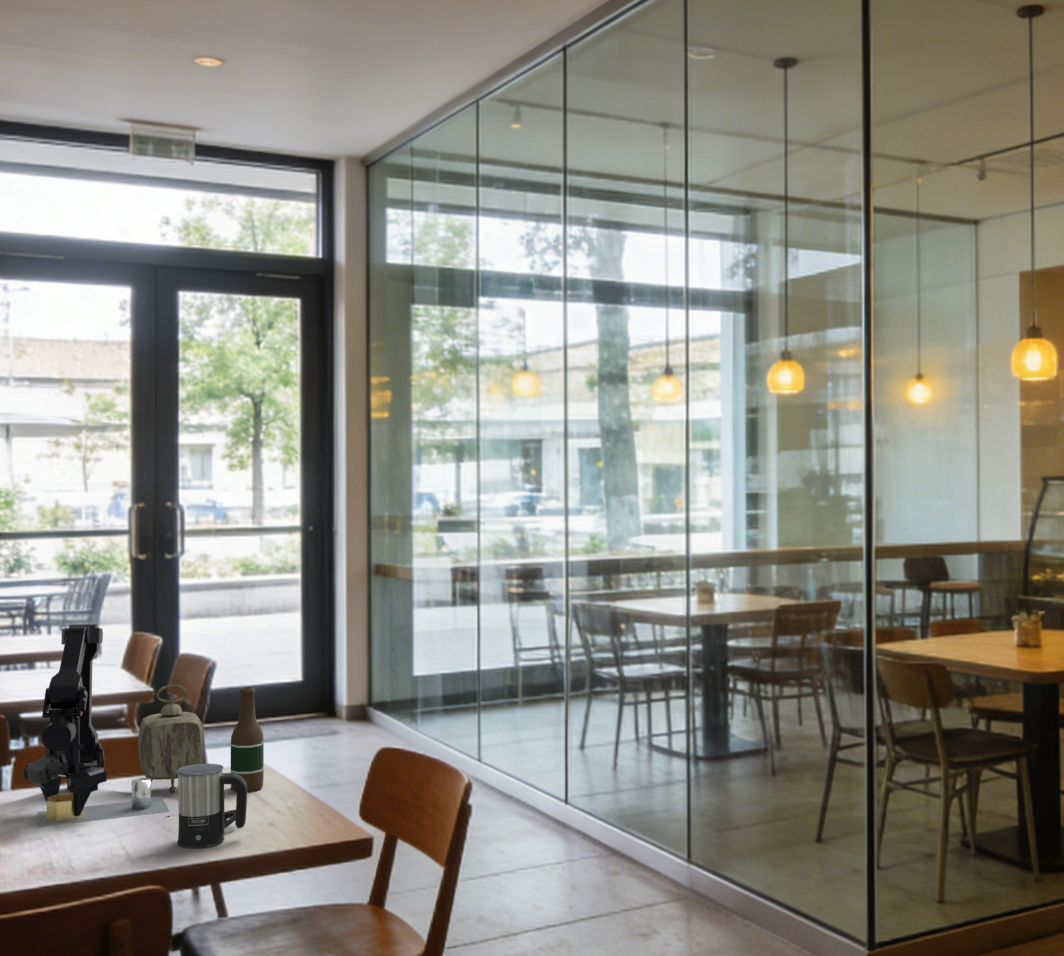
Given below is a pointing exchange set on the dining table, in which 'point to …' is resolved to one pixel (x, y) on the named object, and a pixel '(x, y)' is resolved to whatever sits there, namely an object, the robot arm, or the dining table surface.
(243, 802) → the milk frother
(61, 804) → the brass ring
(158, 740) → the tabletop clock
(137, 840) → the dining table surface
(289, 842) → the dining table surface
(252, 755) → the beer bottle
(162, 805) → the fit board
